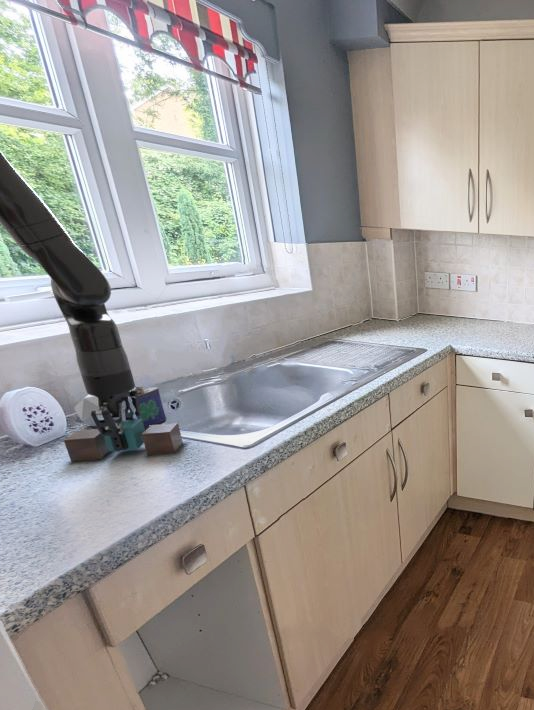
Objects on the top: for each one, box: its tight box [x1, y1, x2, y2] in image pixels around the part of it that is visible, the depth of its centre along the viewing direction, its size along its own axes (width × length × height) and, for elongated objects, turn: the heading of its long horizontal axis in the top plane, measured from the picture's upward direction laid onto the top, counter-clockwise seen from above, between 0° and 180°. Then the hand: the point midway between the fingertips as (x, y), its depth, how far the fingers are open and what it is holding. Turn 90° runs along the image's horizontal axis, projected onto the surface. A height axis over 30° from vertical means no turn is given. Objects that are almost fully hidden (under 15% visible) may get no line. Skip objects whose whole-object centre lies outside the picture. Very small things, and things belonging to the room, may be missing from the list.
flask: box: [134, 385, 167, 431], centre depth 109 cm, size 9×3×11 cm, turn 171°
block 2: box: [142, 422, 184, 456], centre depth 100 cm, size 5×5×5 cm
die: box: [73, 394, 119, 428], centre depth 109 cm, size 8×9×10 cm
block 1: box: [63, 428, 110, 463], centre depth 96 cm, size 5×5×5 cm
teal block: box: [104, 419, 145, 453], centre depth 97 cm, size 5×5×5 cm
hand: (127, 443), depth 98 cm, fingers closed on teal block, 5 cm apart
